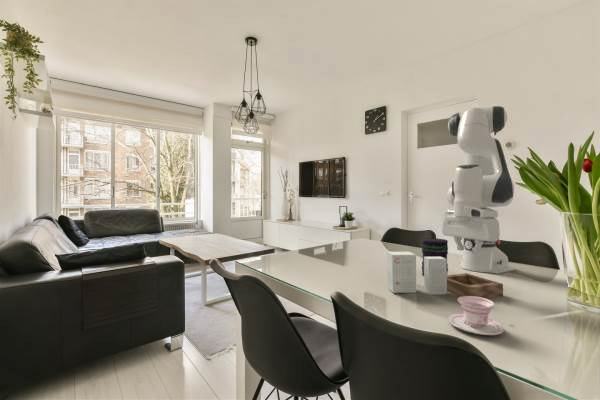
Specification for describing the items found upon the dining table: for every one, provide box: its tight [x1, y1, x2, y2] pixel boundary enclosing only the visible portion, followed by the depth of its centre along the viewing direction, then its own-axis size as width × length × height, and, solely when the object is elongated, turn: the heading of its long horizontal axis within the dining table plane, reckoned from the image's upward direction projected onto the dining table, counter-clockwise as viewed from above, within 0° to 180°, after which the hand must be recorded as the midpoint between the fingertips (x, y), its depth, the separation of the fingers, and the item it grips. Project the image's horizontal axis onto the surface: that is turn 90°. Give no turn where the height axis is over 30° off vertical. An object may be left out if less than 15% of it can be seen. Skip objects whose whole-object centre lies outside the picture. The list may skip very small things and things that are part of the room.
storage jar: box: [421, 237, 449, 277], centre depth 120 cm, size 10×10×15 cm
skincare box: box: [423, 256, 448, 296], centre depth 98 cm, size 6×4×12 cm
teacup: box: [447, 296, 505, 336], centre depth 73 cm, size 12×12×6 cm
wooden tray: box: [447, 272, 504, 299], centre depth 99 cm, size 14×14×4 cm
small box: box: [387, 251, 417, 294], centre depth 101 cm, size 8×6×13 cm
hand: (468, 251), depth 99 cm, fingers open, 5 cm apart
